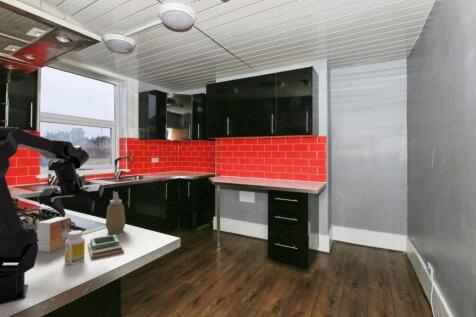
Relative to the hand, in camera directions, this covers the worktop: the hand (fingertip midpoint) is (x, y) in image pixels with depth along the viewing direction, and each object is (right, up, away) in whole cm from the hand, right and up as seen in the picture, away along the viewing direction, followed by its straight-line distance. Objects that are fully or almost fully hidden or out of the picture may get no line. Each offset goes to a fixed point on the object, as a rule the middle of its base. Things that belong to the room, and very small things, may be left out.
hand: (78, 212), depth 88 cm
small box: (-10, -14, +2) cm, 17 cm away
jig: (+9, -14, +1) cm, 17 cm away
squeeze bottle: (+3, -13, +20) cm, 24 cm away
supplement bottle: (+5, -14, -9) cm, 17 cm away
